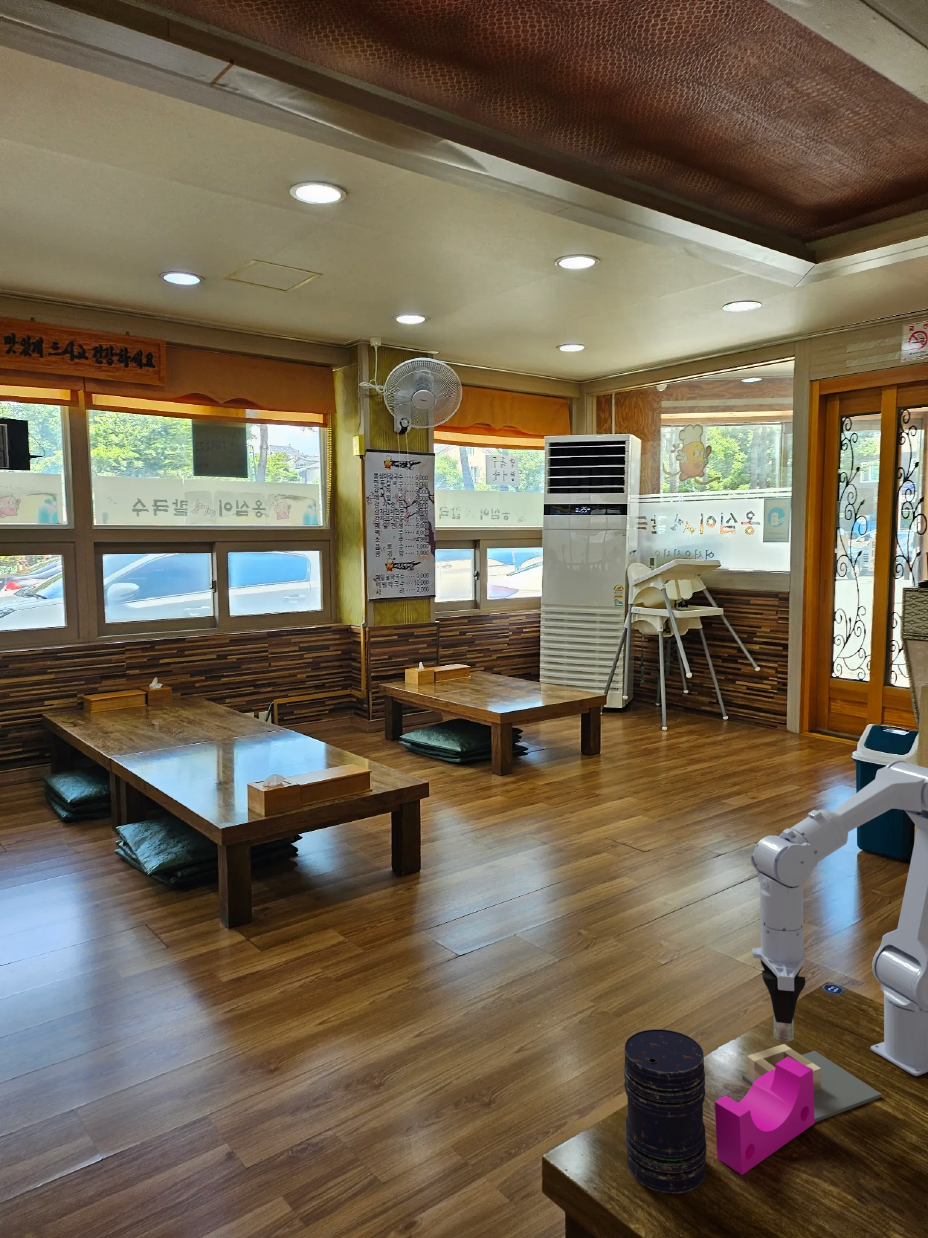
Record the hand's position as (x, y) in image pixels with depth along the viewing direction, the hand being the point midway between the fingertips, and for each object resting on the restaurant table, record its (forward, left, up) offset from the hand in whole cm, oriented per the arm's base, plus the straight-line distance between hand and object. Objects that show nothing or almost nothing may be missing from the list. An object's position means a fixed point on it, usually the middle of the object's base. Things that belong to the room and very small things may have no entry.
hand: (782, 1016), depth 122 cm
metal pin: (0, 0, -3) cm, 3 cm away
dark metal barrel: (+25, +6, -10) cm, 28 cm away
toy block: (+11, +7, -10) cm, 17 cm away
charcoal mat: (-3, +2, -10) cm, 11 cm away
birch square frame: (0, 0, -10) cm, 10 cm away
